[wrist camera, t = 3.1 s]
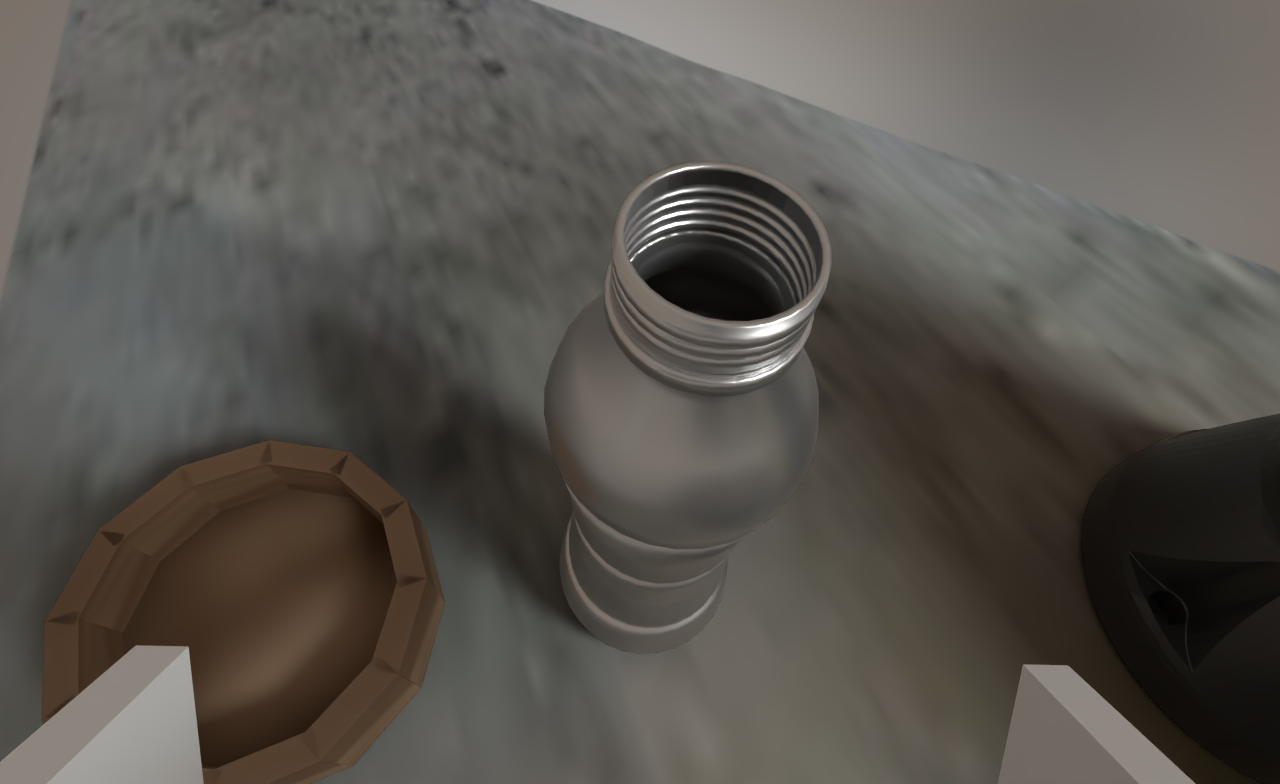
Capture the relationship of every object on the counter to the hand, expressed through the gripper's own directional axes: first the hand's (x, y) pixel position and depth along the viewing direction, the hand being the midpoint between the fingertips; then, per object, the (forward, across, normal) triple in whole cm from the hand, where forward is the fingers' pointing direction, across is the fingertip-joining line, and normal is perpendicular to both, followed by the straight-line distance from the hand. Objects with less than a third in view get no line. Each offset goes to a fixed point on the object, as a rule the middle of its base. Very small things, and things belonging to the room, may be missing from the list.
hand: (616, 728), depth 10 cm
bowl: (+15, -13, -8) cm, 21 cm away
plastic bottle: (+16, +1, -6) cm, 17 cm away
